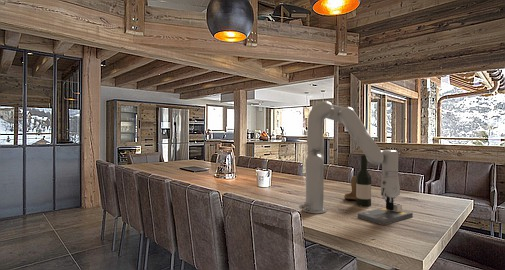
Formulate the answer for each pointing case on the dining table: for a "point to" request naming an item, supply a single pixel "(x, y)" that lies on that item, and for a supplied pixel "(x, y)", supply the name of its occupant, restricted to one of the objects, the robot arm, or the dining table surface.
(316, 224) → the dining table surface
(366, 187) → the wine bottle
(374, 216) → the fader console
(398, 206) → the fader knob
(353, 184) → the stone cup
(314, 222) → the dining table surface
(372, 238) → the dining table surface
